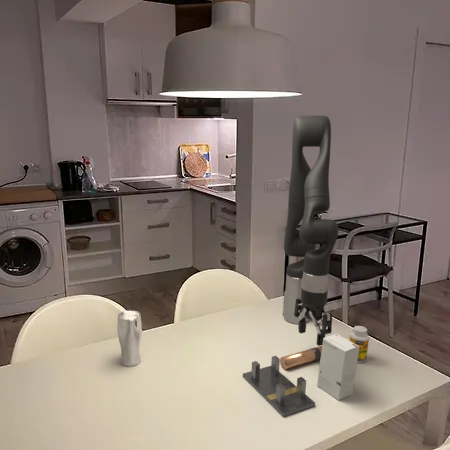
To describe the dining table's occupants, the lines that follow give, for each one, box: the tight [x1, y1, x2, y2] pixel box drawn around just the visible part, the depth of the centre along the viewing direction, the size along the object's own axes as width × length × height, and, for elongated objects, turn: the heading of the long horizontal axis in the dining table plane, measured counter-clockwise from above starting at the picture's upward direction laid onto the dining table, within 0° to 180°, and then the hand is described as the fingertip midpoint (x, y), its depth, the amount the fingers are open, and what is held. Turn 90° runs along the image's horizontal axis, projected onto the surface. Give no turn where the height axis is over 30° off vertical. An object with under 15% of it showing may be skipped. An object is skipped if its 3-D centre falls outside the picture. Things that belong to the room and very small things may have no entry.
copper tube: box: [279, 345, 322, 370], centre depth 140 cm, size 17×4×4 cm
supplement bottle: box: [349, 325, 370, 364], centre depth 142 cm, size 6×6×10 cm
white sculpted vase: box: [116, 310, 143, 367], centre depth 137 cm, size 7×7×15 cm
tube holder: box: [242, 355, 316, 418], centre depth 125 cm, size 20×10×6 cm, turn 28°
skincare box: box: [316, 333, 359, 401], centre depth 125 cm, size 8×6×15 cm
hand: (310, 338), depth 137 cm, fingers open, 8 cm apart
